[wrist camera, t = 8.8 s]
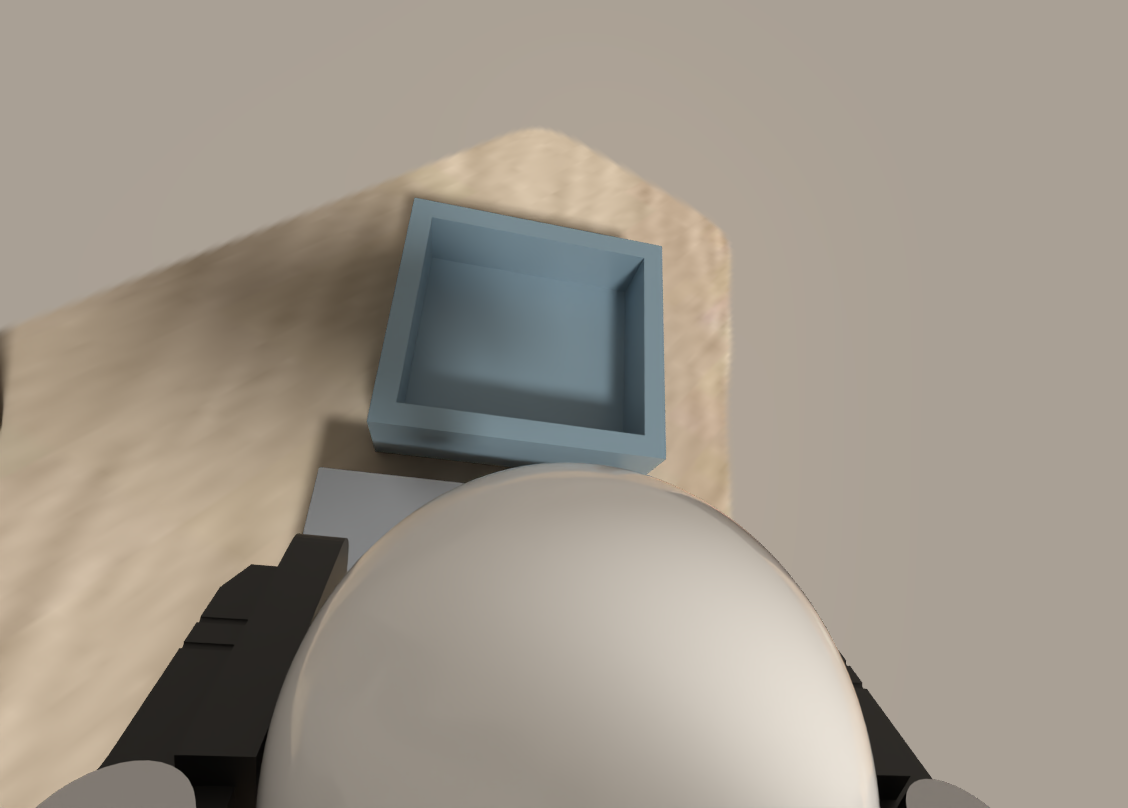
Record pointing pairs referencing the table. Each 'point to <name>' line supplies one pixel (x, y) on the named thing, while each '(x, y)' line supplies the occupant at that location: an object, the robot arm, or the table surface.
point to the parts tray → (521, 345)
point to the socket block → (365, 505)
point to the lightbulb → (567, 662)
